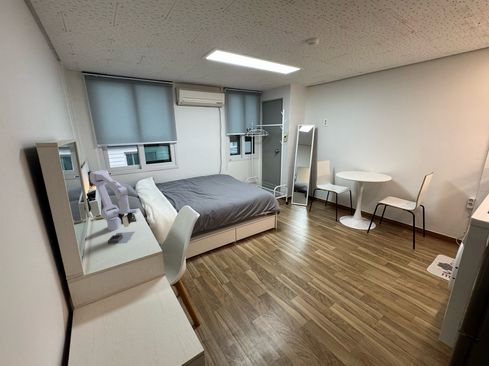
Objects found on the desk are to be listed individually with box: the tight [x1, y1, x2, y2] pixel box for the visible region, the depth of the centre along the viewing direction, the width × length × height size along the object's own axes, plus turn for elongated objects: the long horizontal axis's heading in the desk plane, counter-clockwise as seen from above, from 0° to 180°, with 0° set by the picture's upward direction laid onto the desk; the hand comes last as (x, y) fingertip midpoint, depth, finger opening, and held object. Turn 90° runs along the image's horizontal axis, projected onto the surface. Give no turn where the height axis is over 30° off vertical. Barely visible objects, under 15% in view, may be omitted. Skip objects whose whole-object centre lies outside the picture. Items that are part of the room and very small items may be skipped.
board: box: [106, 231, 136, 245], centre depth 140 cm, size 15×12×2 cm
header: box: [107, 234, 123, 245], centre depth 137 cm, size 7×6×2 cm
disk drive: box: [121, 213, 137, 225], centre depth 168 cm, size 10×3×15 cm
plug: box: [122, 214, 132, 228], centre depth 142 cm, size 4×3×7 cm
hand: (127, 223), depth 143 cm, fingers closed on plug, 3 cm apart
